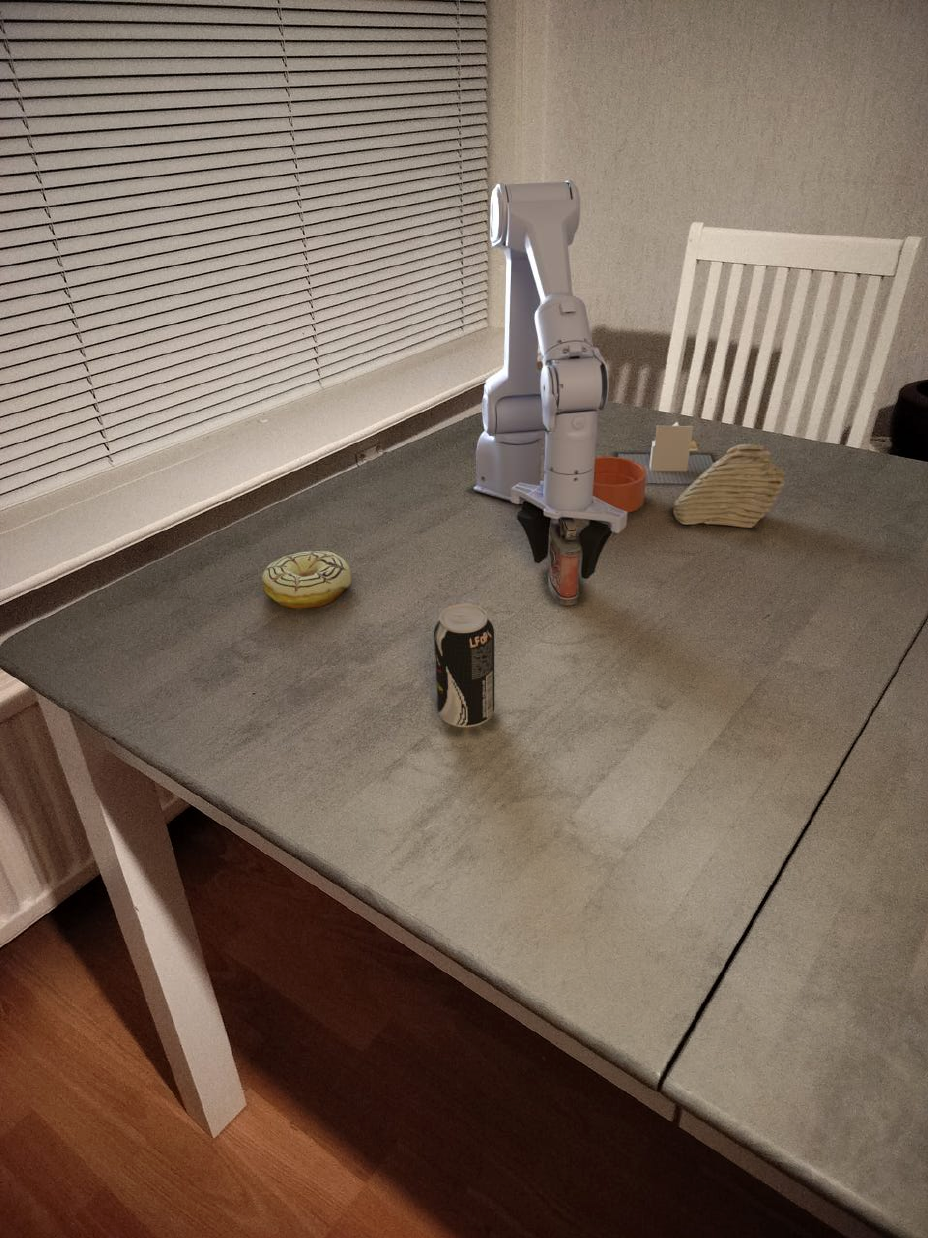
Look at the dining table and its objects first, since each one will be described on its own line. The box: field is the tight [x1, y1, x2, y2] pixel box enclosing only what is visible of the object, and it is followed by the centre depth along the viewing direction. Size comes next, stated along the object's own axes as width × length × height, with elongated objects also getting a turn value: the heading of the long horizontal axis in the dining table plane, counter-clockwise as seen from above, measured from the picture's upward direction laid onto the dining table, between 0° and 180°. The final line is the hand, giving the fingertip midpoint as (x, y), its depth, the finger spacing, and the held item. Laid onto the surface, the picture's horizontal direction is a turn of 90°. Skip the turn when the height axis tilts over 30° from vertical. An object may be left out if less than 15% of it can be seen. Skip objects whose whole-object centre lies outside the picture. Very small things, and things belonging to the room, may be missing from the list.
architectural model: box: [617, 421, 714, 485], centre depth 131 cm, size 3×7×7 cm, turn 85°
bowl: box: [593, 456, 647, 514], centre depth 121 cm, size 10×10×5 cm
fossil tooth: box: [672, 443, 787, 529], centre depth 114 cm, size 12×6×15 cm
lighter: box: [547, 517, 582, 606], centre depth 100 cm, size 8×3×10 cm, turn 5°
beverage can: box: [433, 603, 495, 728], centre depth 80 cm, size 6×6×12 cm
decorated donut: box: [261, 550, 352, 611], centre depth 103 cm, size 10×11×4 cm
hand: (564, 567), depth 102 cm, fingers closed on lighter, 6 cm apart
